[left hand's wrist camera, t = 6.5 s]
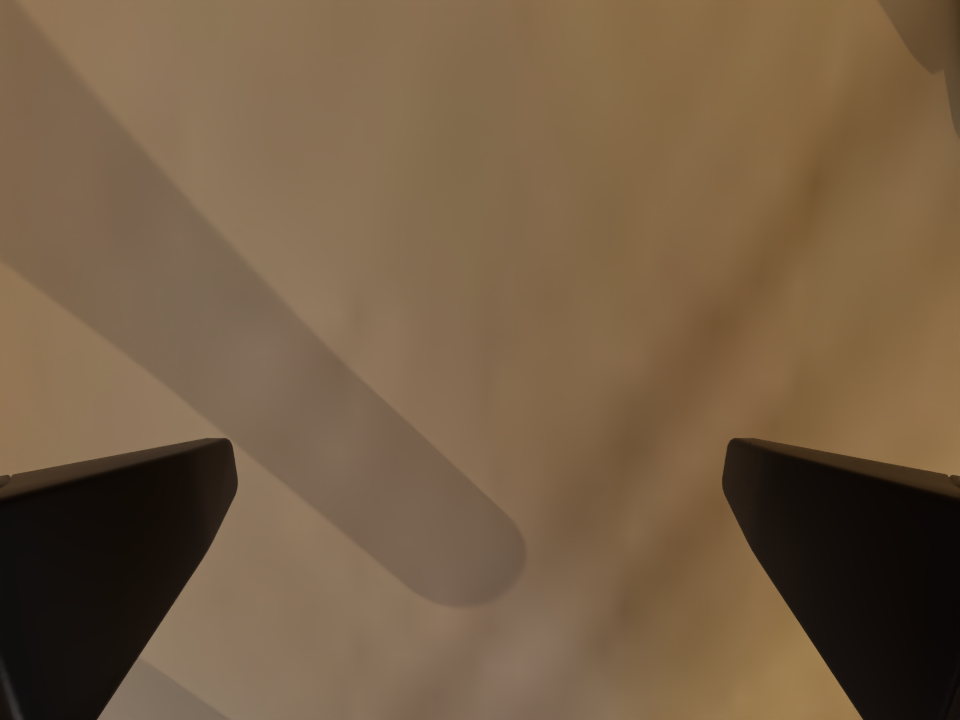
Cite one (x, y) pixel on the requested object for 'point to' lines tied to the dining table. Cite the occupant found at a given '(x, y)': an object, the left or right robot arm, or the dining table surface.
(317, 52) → the dining table surface
